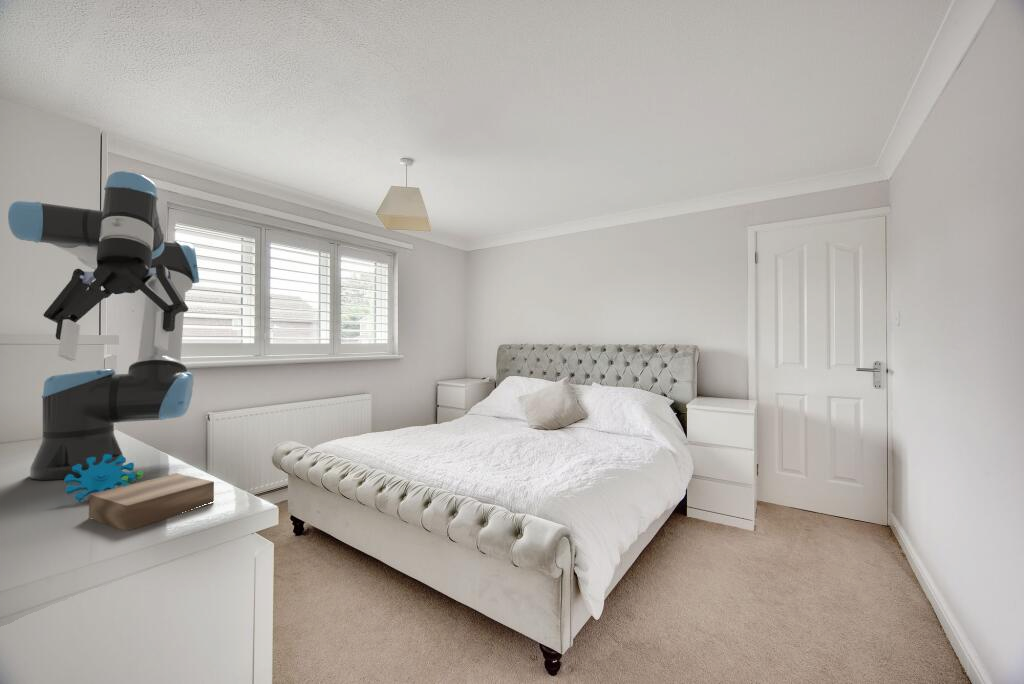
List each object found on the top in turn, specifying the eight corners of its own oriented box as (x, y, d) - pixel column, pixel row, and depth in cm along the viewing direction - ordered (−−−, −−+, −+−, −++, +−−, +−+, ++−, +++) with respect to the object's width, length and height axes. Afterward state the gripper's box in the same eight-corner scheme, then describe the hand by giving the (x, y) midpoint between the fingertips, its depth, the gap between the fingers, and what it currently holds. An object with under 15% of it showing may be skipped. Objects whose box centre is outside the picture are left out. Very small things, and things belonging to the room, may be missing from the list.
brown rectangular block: (88, 518, 72) (89, 494, 72) (176, 493, 83) (176, 473, 83) (126, 531, 67) (126, 505, 67) (213, 503, 78) (213, 481, 79)
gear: (55, 500, 75) (73, 452, 81) (57, 517, 78) (73, 469, 84) (137, 496, 82) (148, 451, 88) (135, 511, 85) (145, 467, 91)
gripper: (26, 239, 73) (4, 354, 66) (192, 231, 79) (187, 336, 73) (60, 262, 80) (43, 368, 73) (210, 253, 86) (207, 351, 79)
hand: (114, 353), depth 73 cm, fingers open, 13 cm apart
